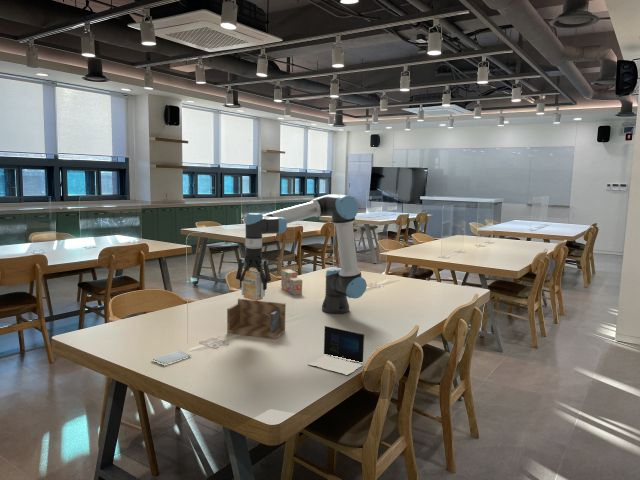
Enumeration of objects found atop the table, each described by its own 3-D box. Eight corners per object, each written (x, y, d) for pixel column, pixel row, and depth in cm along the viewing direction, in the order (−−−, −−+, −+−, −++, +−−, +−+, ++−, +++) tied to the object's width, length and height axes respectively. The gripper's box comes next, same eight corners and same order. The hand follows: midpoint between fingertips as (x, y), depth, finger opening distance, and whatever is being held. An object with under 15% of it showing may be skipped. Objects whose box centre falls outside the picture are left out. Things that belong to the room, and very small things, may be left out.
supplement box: (243, 298, 219) (243, 270, 218) (250, 296, 223) (250, 268, 222) (255, 301, 214) (255, 272, 213) (263, 299, 218) (263, 271, 217)
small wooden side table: (285, 331, 224) (285, 303, 222) (275, 339, 212) (275, 309, 211) (238, 325, 231) (239, 298, 229) (227, 332, 219) (227, 304, 217)
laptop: (307, 366, 184) (307, 333, 182) (324, 356, 194) (324, 325, 193) (347, 377, 174) (349, 343, 173) (363, 366, 185) (364, 334, 183)
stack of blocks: (302, 294, 296) (302, 275, 295) (292, 295, 294) (293, 275, 292) (289, 286, 315) (290, 268, 314) (281, 287, 313) (281, 269, 311)
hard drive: (164, 364, 179) (191, 354, 189) (151, 358, 184) (178, 349, 194) (164, 368, 179) (191, 358, 189) (151, 362, 184) (178, 353, 194)
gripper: (228, 246, 215) (228, 295, 218) (272, 250, 209) (272, 299, 212) (235, 244, 222) (235, 291, 225) (279, 247, 216) (278, 296, 219)
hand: (253, 295), depth 219 cm, fingers closed on supplement box, 9 cm apart
